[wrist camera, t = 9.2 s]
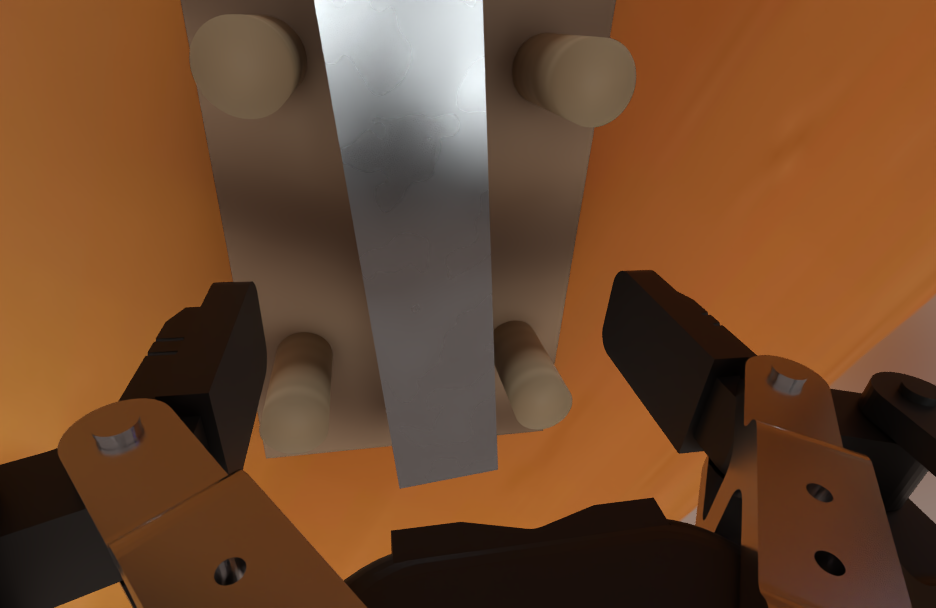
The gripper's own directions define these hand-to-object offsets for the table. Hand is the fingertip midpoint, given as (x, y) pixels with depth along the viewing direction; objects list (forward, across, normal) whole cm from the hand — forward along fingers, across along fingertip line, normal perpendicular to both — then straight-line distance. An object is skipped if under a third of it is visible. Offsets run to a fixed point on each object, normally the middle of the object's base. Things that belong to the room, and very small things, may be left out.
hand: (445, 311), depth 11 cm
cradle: (+8, 0, +1) cm, 8 cm away
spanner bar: (+7, 0, 0) cm, 7 cm away
